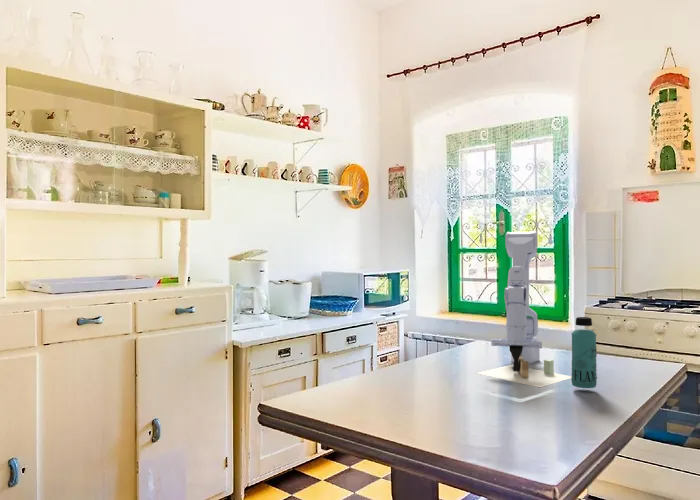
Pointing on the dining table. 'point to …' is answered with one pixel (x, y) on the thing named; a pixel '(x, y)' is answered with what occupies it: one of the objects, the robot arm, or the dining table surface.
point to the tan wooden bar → (523, 367)
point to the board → (534, 379)
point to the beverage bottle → (584, 355)
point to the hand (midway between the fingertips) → (516, 370)
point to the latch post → (549, 366)
